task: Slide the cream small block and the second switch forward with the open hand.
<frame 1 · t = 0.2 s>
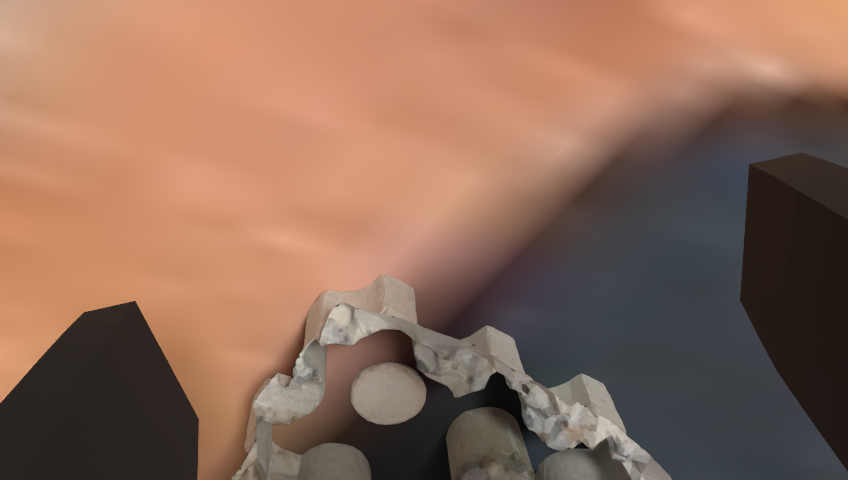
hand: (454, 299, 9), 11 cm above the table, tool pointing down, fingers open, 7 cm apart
egg carton: (438, 402, 23), on the table
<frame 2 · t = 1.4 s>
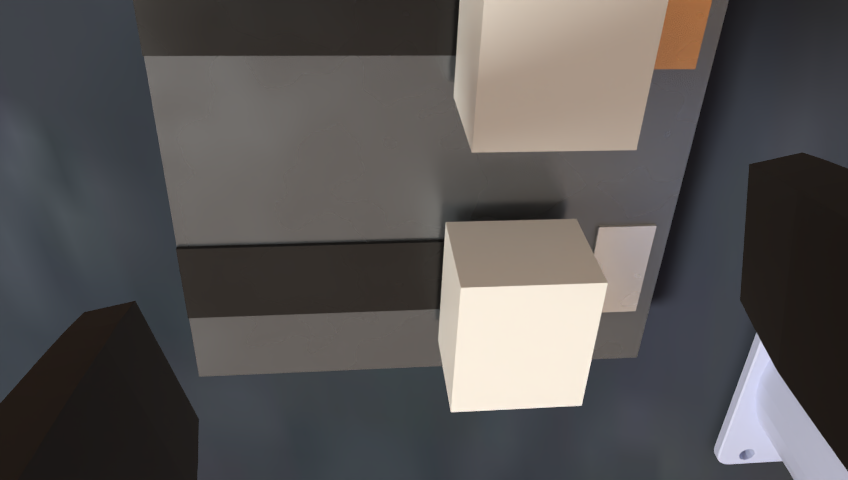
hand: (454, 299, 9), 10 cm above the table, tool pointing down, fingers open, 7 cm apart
switch 2: (551, 32, 14), point 4 cm above the table, slide at 0.0 cm
switch 3: (514, 314, 17), point 4 cm above the table, slide at 0.0 cm
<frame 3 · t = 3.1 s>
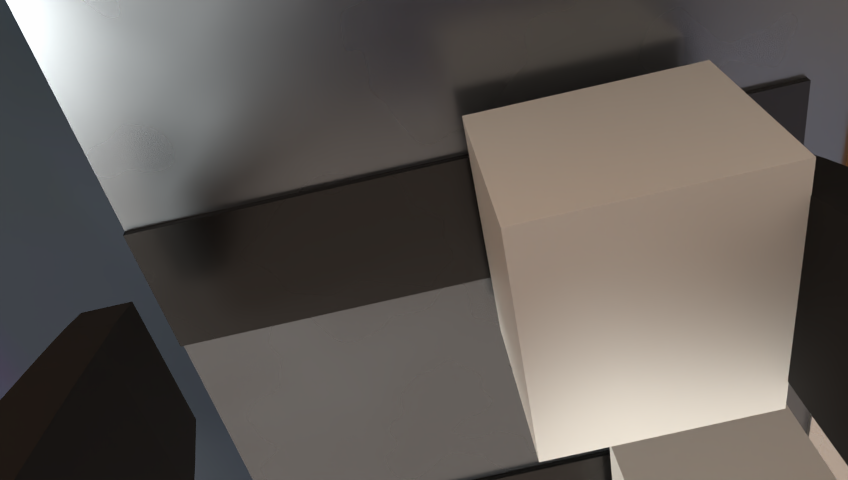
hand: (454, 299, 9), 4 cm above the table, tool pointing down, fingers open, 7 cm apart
switch unit: (531, 131, 12), on the table
switch 2: (623, 262, 9), point 4 cm above the table, slide at 1.5 cm, touching gripper
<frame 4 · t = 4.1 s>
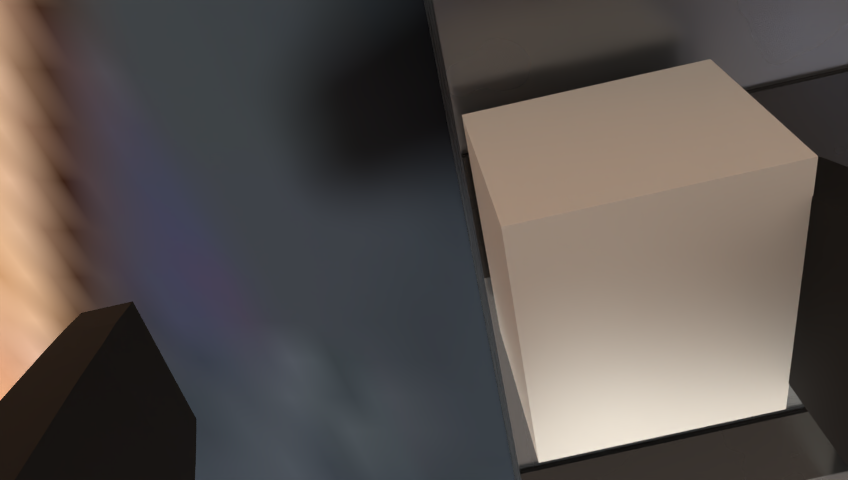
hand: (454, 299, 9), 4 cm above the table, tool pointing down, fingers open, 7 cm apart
switch unit: (812, 67, 12), on the table
switch 2: (624, 262, 9), point 4 cm above the table, slide at 5.9 cm, touching gripper
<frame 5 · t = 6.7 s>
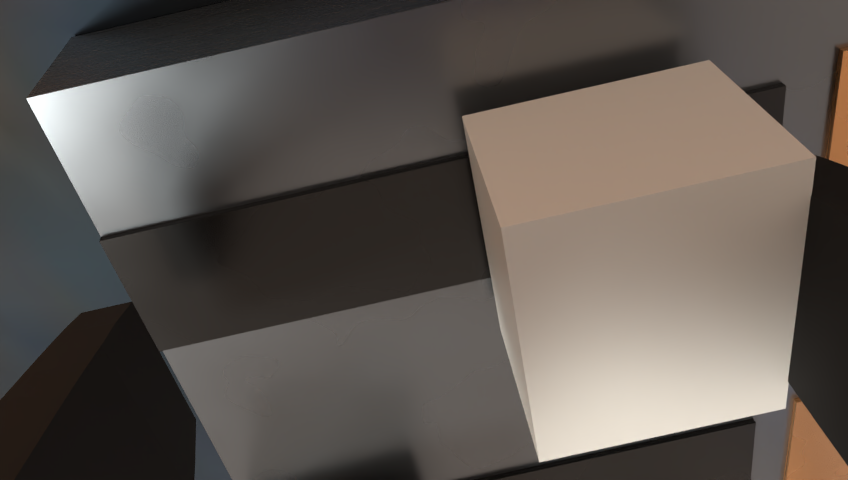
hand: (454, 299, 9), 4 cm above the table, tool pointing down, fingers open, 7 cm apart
cream small block 1: (623, 262, 9), point 4 cm above the table, slide at 1.1 cm, touching gripper
switch unit: (550, 411, 16), on the table
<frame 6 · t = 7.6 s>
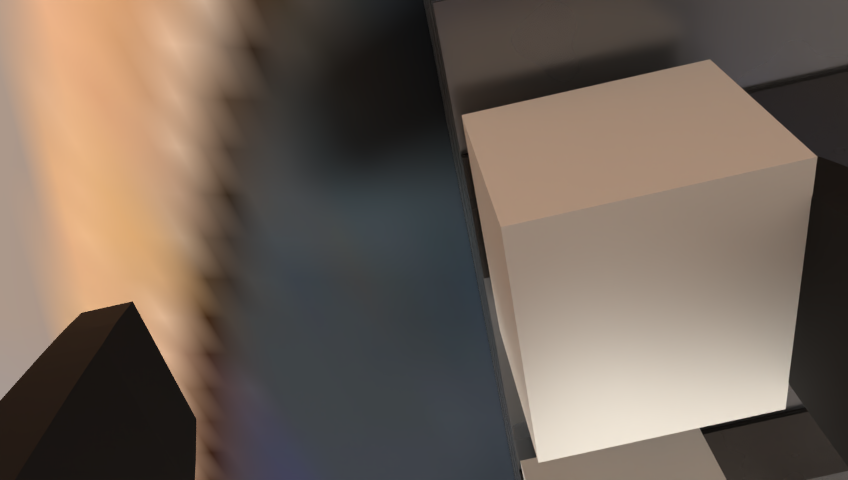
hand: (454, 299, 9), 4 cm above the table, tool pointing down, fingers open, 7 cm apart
cream small block 1: (623, 262, 9), point 4 cm above the table, slide at 5.9 cm, touching gripper
switch unit: (778, 361, 16), on the table
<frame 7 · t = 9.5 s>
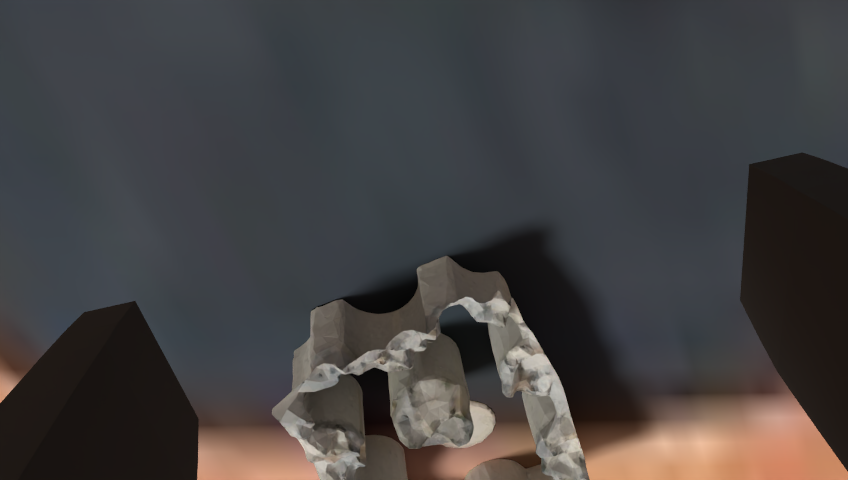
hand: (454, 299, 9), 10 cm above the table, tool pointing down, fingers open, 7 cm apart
egg carton: (437, 385, 25), on the table
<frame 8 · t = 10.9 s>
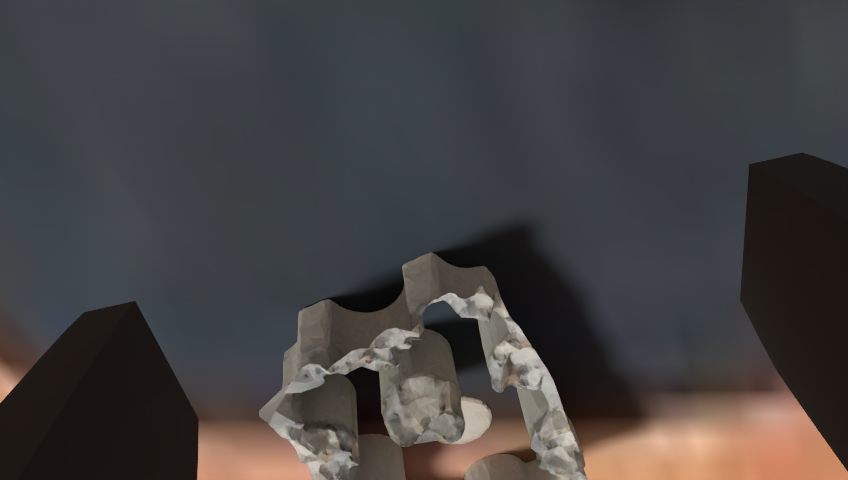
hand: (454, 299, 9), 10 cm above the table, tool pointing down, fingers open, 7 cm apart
egg carton: (431, 381, 25), on the table
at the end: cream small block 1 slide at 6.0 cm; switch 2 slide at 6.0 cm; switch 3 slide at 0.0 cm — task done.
